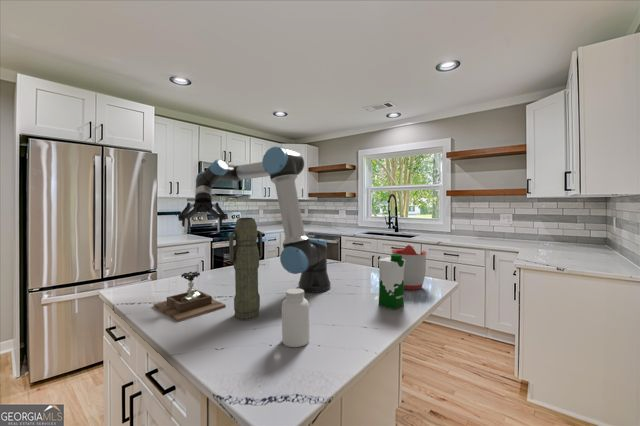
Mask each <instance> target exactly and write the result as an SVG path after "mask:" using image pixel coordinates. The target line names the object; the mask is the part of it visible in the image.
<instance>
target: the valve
mask: <svg viewBox="0 0 640 426" xmlns="http://www.w3.org/2000/svg"><path fill="white" fill-rule="evenodd" d="M199 276H201V272H198V271H194V272H193V271H189V272H183V273H182V274H181V276H180V277H181V278H183V279H185V280H187V281H188V288H187V290H186V292H187V293H188V295H187V296H185V297H183V298H182V300H181V302H182V303H184V302H188V301H192V300H196V299H199V298H201V294H200V293H199V292H195V290H196V288H195V287H194V285H195V283H194V282H193V281H194V280H195V278H198V277H199ZM194 292H195V293H194Z"/></svg>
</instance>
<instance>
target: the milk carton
mask: <svg viewBox="0 0 640 426" xmlns="http://www.w3.org/2000/svg"><path fill="white" fill-rule="evenodd" d="M377 263H378V268H379V270H378V272H379V274H378V276H379V278H378V280H379V281H378V282H379V283H378V286H379V287H378V288H379V289H378V291H379V292H378V306H381V307H385V308H388V309H391V310H396V309H399V308H400V307H403V306H404V305H405V299H404V298H405V297H404V296H405V295H404V290H405V289H404V267H405V260H403V259H402V255H399V254H390V256H388V257H384V258H381V259H377Z"/></svg>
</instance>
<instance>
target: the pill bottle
mask: <svg viewBox="0 0 640 426" xmlns="http://www.w3.org/2000/svg"><path fill="white" fill-rule="evenodd" d="M281 333H282V334H281V335H282V339H281V340H282V343H283V345H284V346H285V347H288V348H289V347H290V348H301V347H304V346H306V345H307V344H308V343H309V342H310V305H309V301H308V299H306V298H305V291H304V290H303V289H299V288H298V287H297V288H289V289H287V290H286V291H285V299H284V300H283V301H282V303H281Z"/></svg>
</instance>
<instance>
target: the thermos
mask: <svg viewBox="0 0 640 426" xmlns="http://www.w3.org/2000/svg"><path fill="white" fill-rule="evenodd" d="M234 241H235V244H234ZM228 245H229V247H228V248H229V249H228V252H229V253H228V254H229V262H230V263H233V269H234V274H235V275H234V279H235V281H234V282H235V285H234V287H235V295H234V298H233V310H234V318H235V319H236V320H239V321H251V320H254V319H257V318H258V317H260V315H261V314H260V308H261V302H260V301H261V299H260V298H261V296H260V294H259V267H260V260H261V259H262V258H263V233H262V232H261V230H258V225H257V222H256V220H255V218H253V217H239V218H237V219H236V222H235V225H234V231H231V233H230V234H229V236H228Z"/></svg>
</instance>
